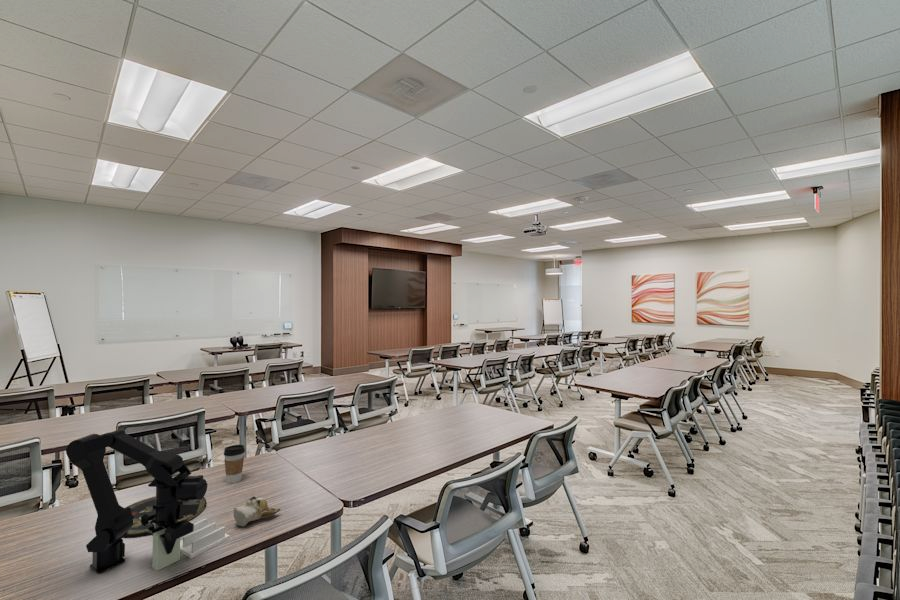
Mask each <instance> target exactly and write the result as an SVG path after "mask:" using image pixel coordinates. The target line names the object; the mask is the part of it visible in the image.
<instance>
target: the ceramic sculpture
mask: <svg viewBox="0 0 900 600" xmlns="http://www.w3.org/2000/svg"><path fill="white" fill-rule="evenodd" d="M280 511H281V508H274V507H269V506H268V501H267V500H266V499H265V498H263V497H260V496H259V497H256V496H252V497H250V498H249V499H247V500H246V503H245V504H244V505H242V506H235V507H233V518H234V520H235V523H236V524H237V525H238V527H245V526H247V524H248V523H249V522H254V521H257V520H260V519H262V518H264V519H266V518H271V517H272V516H274V515H275V514H277V513H278V512H280Z"/></svg>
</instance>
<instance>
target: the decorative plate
mask: <svg viewBox="0 0 900 600" xmlns="http://www.w3.org/2000/svg"><path fill="white" fill-rule="evenodd" d="M192 501H195V502H198V503H200V505H199V508H198V511H197V514H196V515H184V518H181V519H177V522H178V521H182V520H184V519H185V520H187V521H189V522H191V521H193V520H194V519H196V518H197V517H199V516H200V515H201V514H202V513H203V512H204V511H205V509H206V508H207V499H206V498H205V496H204V497H203V498H202V499H201V500H192ZM154 504H156V495H155V496H152V497H148V498H145V499H142V500H139V501H137V502H134V503H133V504H130V505H128V506H126V507H124V508H127V507H130V508H131V513H132V515H133V516H134V519H133V525H132V527H131V529H130V530H129V531H128V534H127V535H126V536H125V537H123V538H122V539H135V538H136V539H137V538H142V537H143V538H144V537H149V536H152V534H151V533H150V531H149V530H148V528H149V527H151V523H150V521H152V520H150V521H149V524H148V525H147V526H144V525H142V524H141V518H142V516H143V515H144V514H145V513H147V512H150V511H153V510H155V509H153V505H154Z"/></svg>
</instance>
